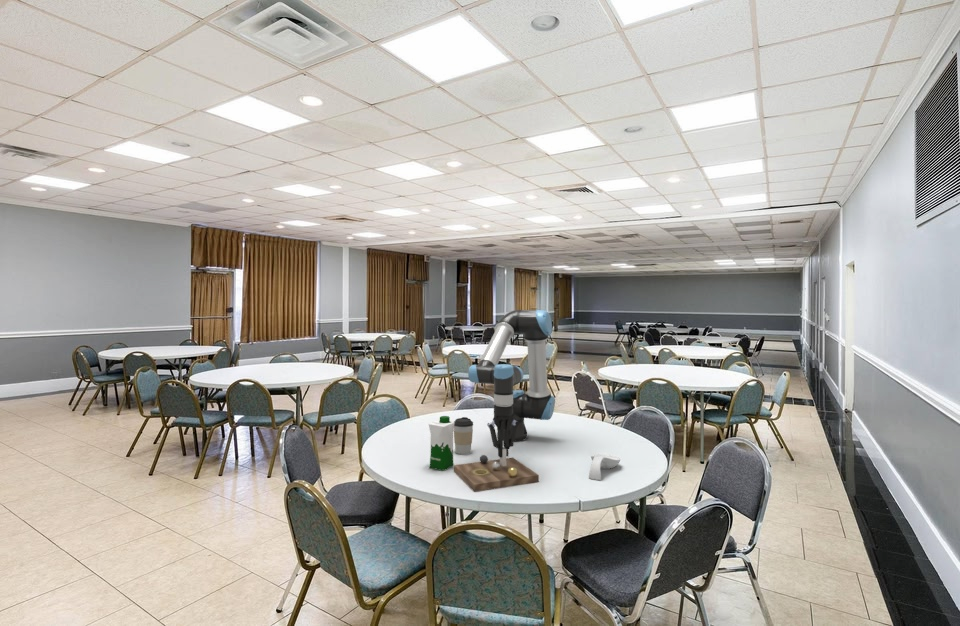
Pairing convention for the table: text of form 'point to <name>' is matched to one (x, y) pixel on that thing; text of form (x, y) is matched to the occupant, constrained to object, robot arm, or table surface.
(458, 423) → the coffee cup
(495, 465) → the steel ball
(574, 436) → the table surface
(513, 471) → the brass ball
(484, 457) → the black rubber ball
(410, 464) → the table surface
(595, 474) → the white curved piece
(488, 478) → the board
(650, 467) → the table surface
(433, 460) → the milk carton
